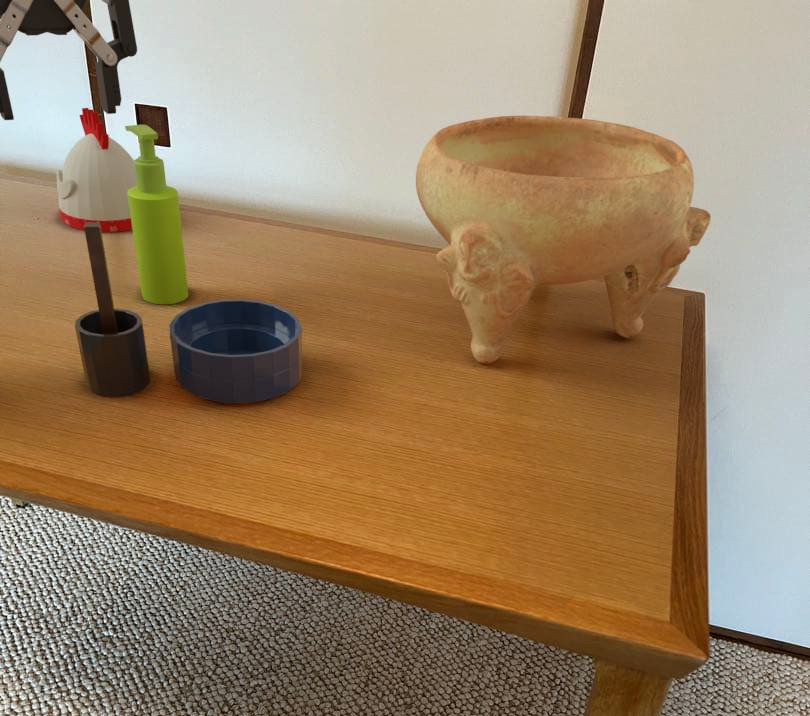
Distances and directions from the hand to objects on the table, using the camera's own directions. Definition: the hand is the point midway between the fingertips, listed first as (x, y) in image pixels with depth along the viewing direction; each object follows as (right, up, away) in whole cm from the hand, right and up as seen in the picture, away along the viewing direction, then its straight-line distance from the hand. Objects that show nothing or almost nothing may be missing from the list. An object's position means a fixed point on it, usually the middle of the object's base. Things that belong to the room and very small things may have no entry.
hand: (59, 115), depth 70 cm
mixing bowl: (+11, -18, +21) cm, 30 cm away
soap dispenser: (-2, -5, +37) cm, 37 cm away
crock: (-1, -20, +18) cm, 27 cm away
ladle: (-1, -19, +18) cm, 26 cm away
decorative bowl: (+47, -8, +38) cm, 61 cm away
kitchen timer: (-17, +14, +57) cm, 61 cm away
